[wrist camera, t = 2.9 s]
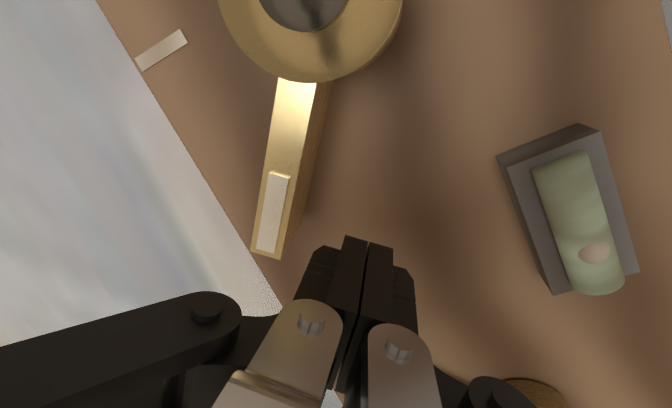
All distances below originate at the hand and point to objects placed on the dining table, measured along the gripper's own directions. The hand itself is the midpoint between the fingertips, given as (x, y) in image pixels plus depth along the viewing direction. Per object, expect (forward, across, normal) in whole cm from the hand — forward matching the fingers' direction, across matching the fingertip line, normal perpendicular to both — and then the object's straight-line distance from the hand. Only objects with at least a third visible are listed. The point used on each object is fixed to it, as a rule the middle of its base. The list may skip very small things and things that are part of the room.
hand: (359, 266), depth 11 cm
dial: (+6, +3, -4) cm, 8 cm away
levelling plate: (+8, -3, 0) cm, 8 cm away
